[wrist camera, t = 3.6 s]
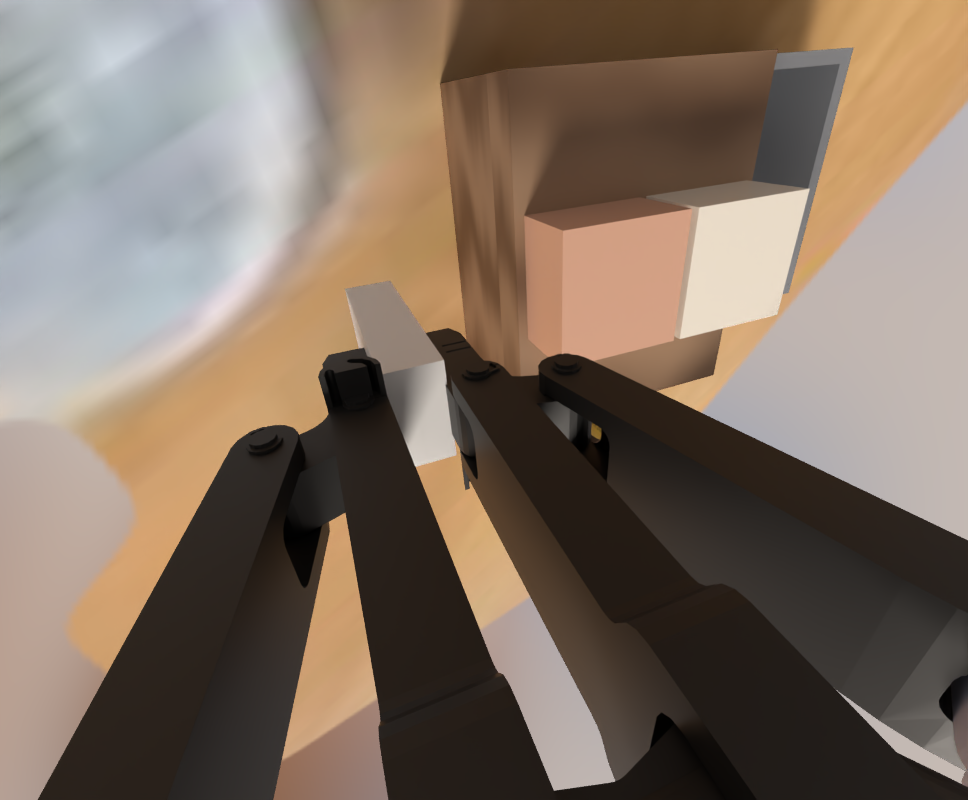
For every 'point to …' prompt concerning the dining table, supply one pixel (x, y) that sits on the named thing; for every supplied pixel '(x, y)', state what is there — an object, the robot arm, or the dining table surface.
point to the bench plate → (589, 175)
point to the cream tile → (735, 252)
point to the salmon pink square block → (605, 276)
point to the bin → (800, 124)
